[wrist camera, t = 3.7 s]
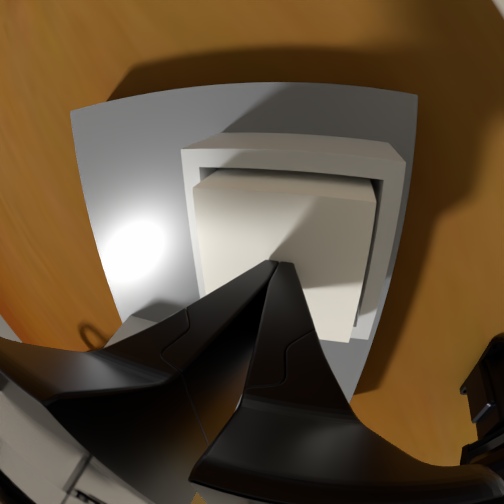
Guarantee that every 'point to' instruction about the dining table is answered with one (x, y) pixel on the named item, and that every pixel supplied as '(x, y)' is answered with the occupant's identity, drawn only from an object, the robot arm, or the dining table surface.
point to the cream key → (290, 234)
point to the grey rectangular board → (235, 156)
